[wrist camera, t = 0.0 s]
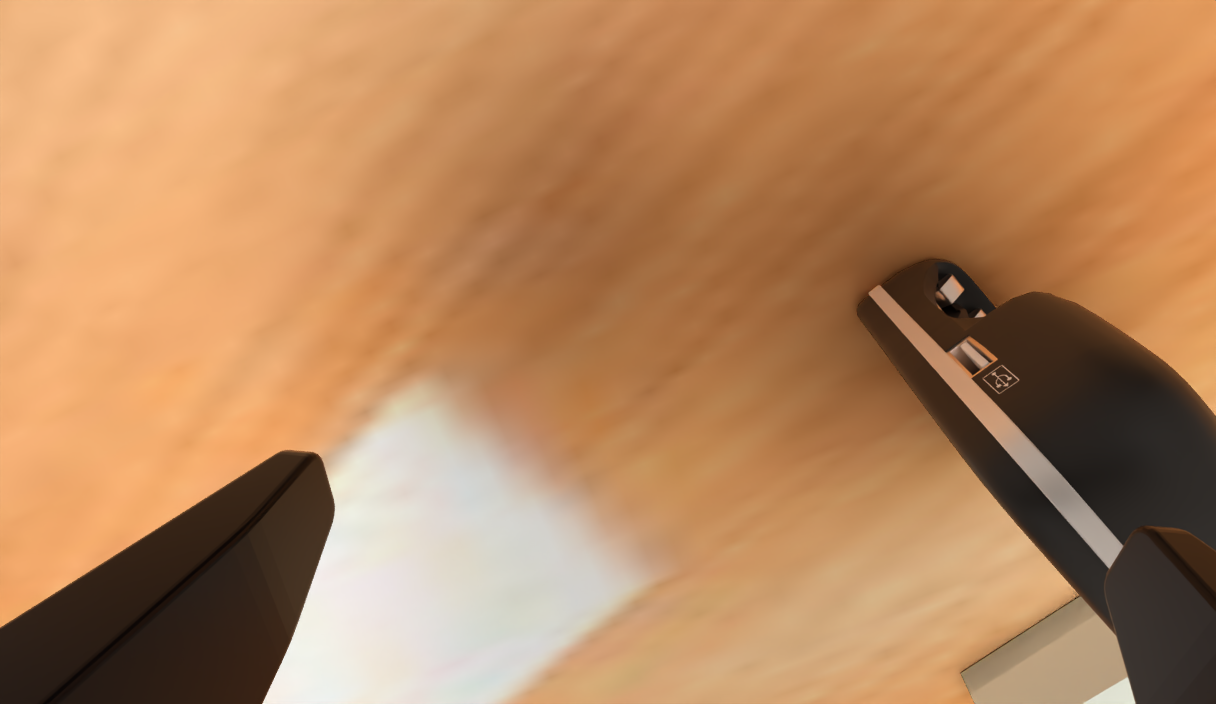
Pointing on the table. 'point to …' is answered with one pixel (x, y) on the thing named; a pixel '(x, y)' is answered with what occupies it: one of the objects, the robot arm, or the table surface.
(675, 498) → the table surface
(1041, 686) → the tray
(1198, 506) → the battery charger
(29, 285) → the table surface
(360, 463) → the table surface
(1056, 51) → the table surface
